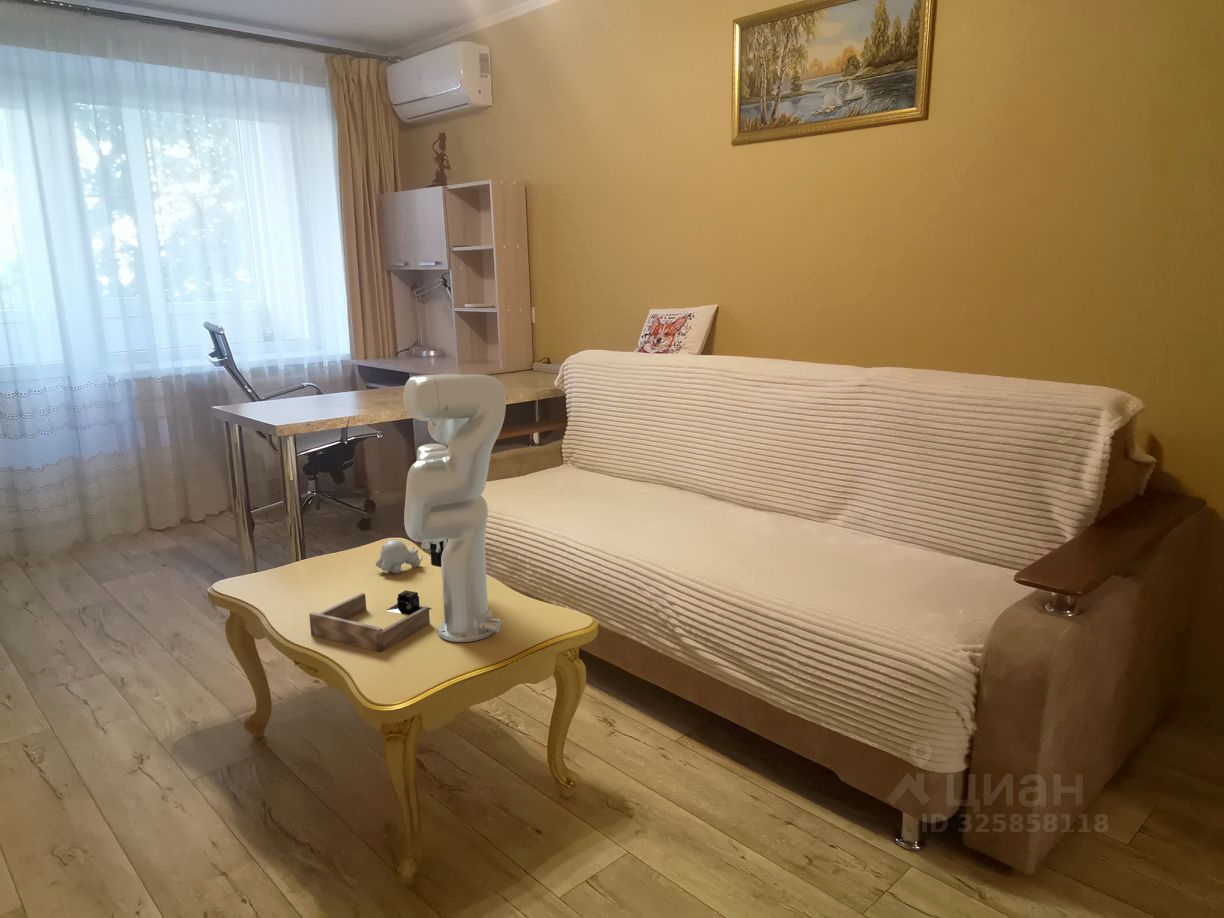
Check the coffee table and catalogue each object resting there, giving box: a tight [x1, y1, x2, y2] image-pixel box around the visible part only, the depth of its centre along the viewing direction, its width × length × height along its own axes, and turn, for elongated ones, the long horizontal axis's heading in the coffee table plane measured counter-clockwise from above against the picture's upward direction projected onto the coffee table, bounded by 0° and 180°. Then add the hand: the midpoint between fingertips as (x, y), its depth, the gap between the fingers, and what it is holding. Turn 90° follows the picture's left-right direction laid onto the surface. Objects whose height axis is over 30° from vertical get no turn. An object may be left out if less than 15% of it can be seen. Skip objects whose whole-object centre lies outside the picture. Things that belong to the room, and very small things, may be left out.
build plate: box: [385, 590, 433, 616], centre depth 191 cm, size 12×7×5 cm, turn 66°
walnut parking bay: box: [308, 592, 431, 653], centre depth 179 cm, size 20×16×5 cm
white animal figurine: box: [375, 539, 424, 575], centre depth 217 cm, size 7×12×8 cm, turn 124°
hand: (438, 565), depth 201 cm, fingers closed
